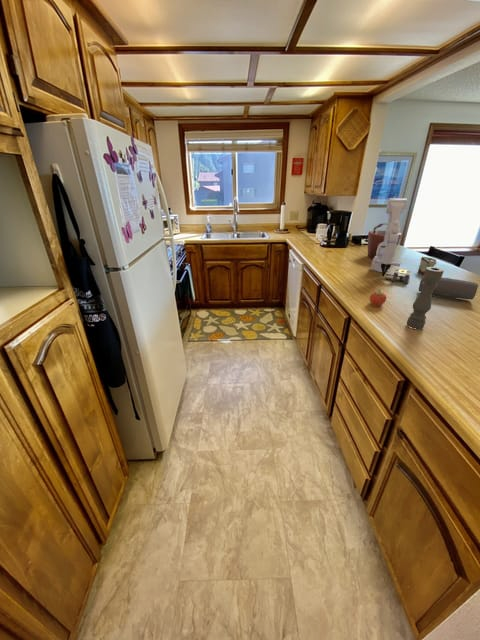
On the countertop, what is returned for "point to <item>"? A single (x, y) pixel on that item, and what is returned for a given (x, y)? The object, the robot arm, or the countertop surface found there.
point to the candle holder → (424, 297)
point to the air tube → (399, 278)
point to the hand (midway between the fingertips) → (383, 275)
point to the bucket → (376, 240)
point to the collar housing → (401, 273)
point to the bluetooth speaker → (453, 289)
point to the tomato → (377, 298)
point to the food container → (426, 264)
